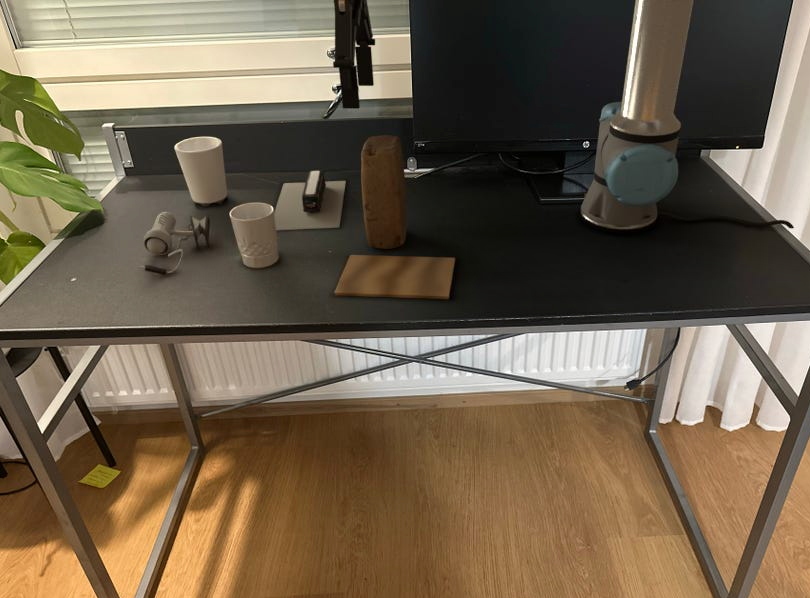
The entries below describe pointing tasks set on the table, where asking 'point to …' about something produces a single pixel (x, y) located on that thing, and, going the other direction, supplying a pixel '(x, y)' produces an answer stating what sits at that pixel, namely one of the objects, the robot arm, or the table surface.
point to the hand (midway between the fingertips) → (359, 96)
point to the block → (384, 192)
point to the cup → (203, 169)
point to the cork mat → (397, 277)
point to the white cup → (255, 234)
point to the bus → (310, 203)
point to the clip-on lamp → (161, 235)
